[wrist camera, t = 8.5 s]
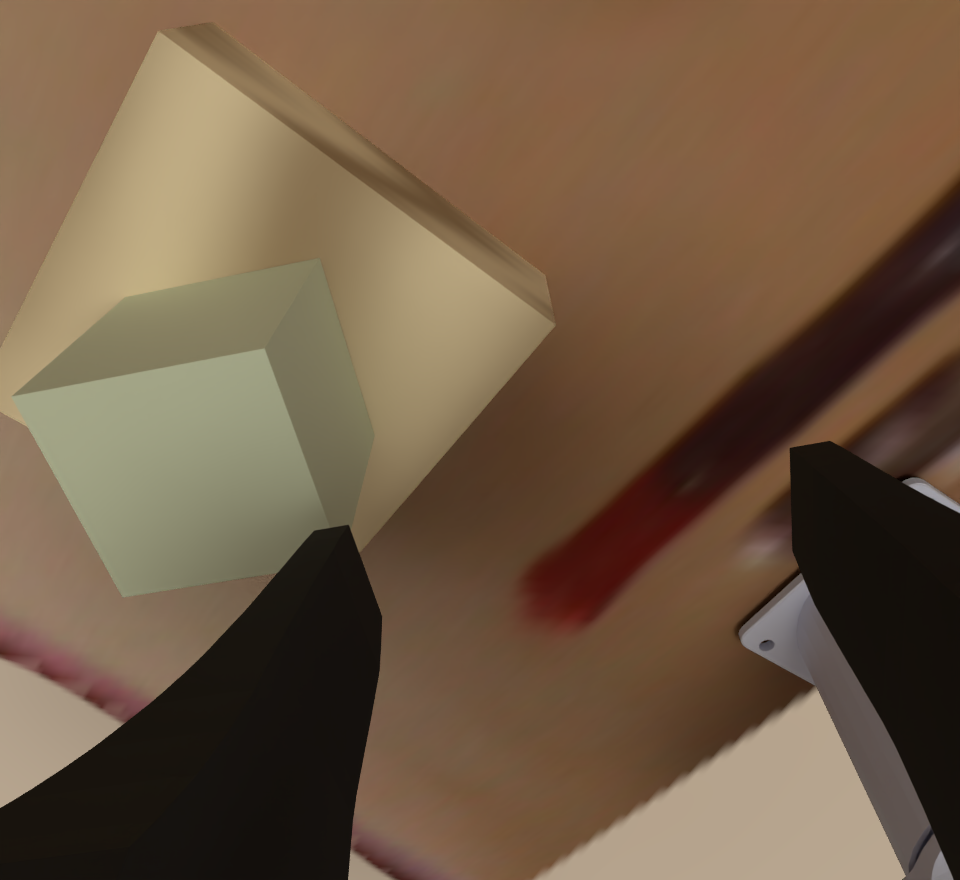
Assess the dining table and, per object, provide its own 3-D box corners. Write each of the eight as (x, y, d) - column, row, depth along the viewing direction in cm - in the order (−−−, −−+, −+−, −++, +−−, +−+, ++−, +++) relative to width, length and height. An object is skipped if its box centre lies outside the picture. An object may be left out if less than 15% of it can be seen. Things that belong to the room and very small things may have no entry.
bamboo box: (544, 270, 22) (555, 325, 18) (347, 509, 26) (326, 591, 22) (217, 21, 19) (158, 31, 15) (52, 334, 23) (-25, 398, 19)
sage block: (319, 257, 18) (264, 348, 13) (374, 435, 20) (343, 562, 16) (125, 297, 18) (11, 396, 14) (200, 466, 20) (122, 597, 16)
